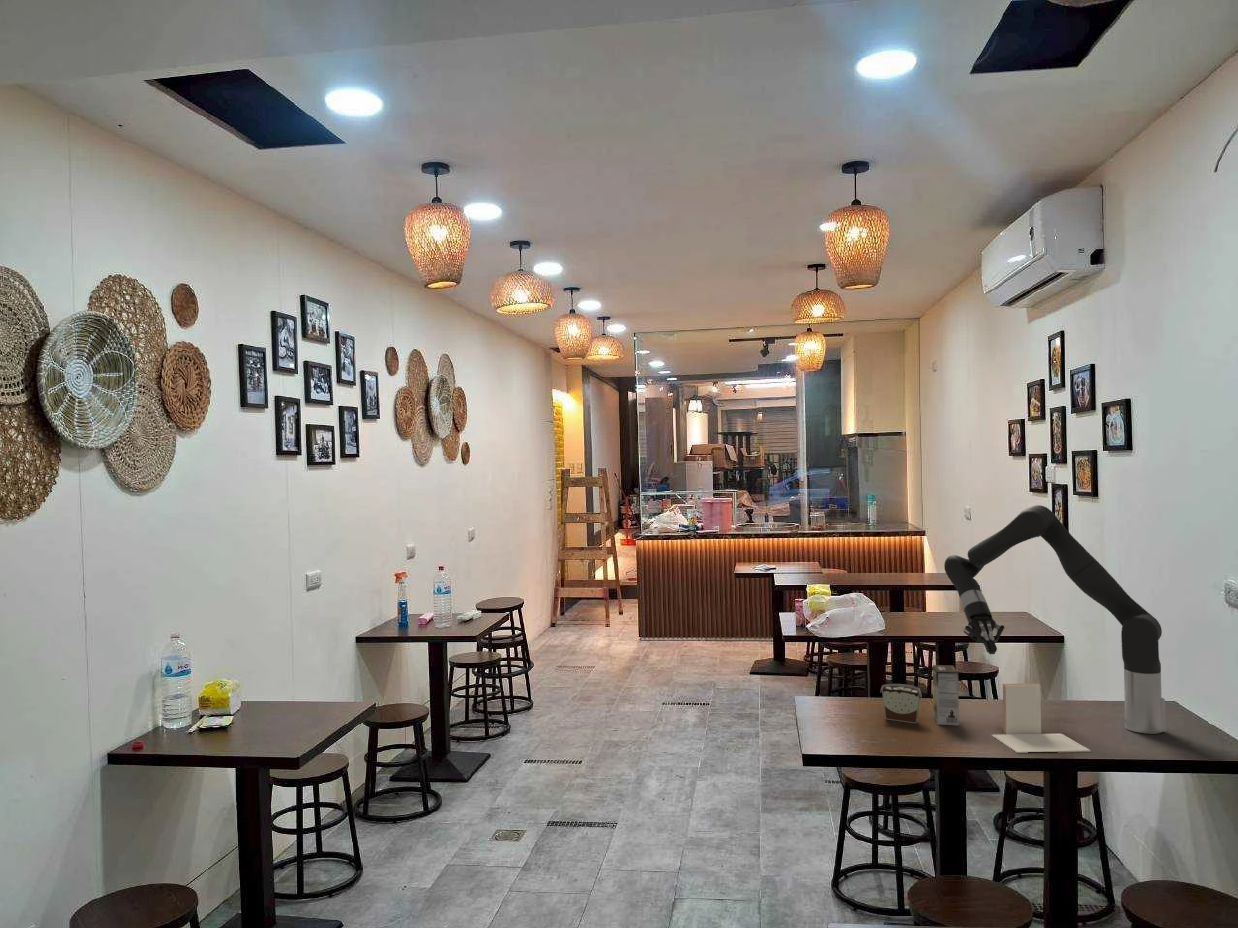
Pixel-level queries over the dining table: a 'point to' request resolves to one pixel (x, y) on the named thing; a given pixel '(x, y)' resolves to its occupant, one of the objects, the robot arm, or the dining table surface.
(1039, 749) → the mat
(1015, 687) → the tan flat block
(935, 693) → the coffee box
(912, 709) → the food container
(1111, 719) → the dining table surface
